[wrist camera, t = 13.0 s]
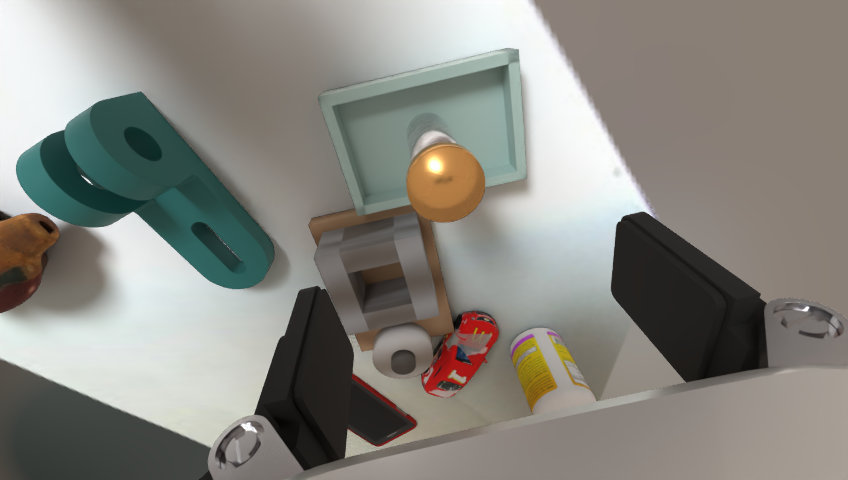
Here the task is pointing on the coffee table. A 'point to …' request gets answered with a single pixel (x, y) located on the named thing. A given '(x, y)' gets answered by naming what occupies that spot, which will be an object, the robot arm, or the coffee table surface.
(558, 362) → the supplement bottle
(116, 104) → the bracket
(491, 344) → the race car
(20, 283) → the green brown ocarina
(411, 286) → the square socket fixture board
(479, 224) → the coffee table surface
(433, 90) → the tray
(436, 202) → the pin
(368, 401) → the cell phone
